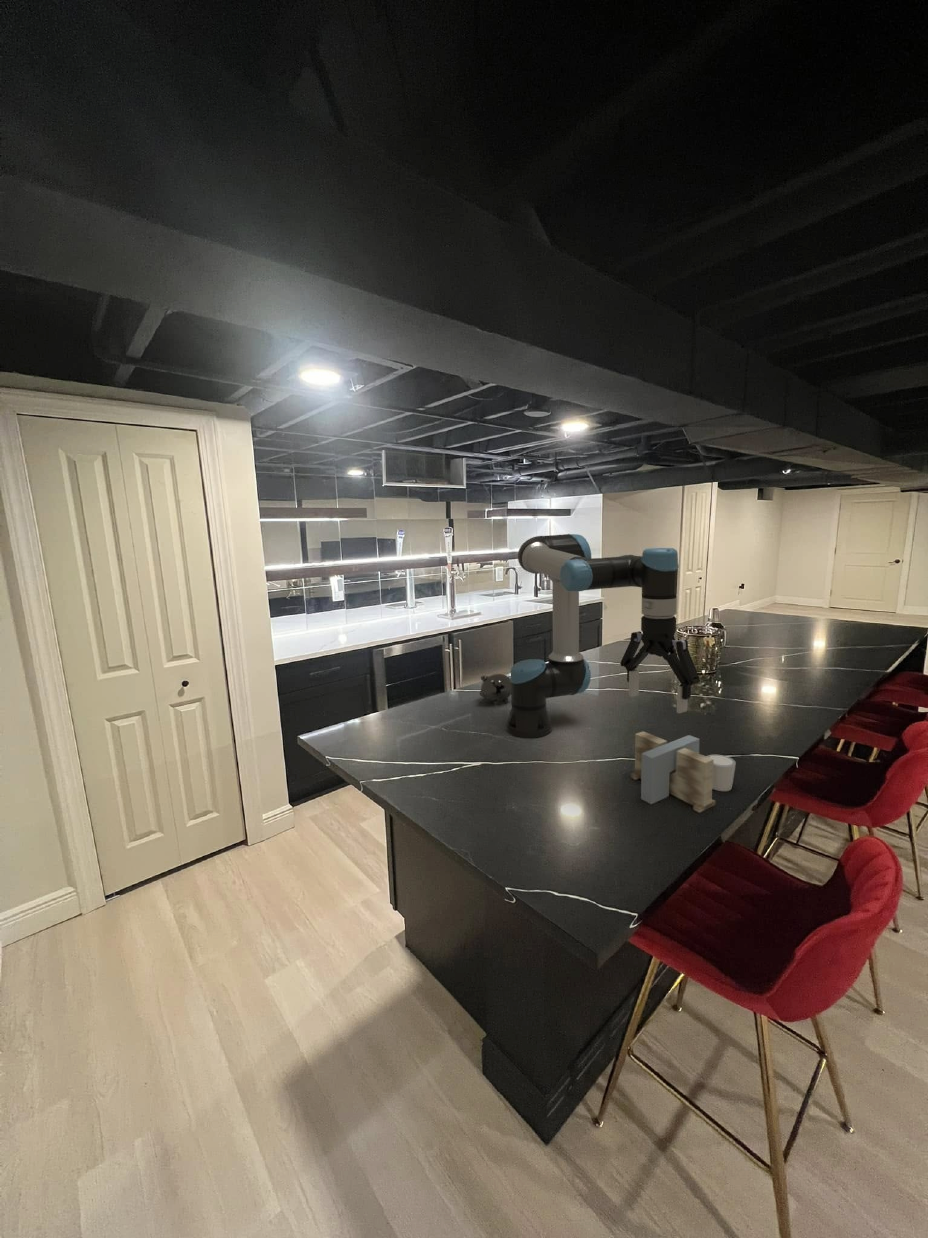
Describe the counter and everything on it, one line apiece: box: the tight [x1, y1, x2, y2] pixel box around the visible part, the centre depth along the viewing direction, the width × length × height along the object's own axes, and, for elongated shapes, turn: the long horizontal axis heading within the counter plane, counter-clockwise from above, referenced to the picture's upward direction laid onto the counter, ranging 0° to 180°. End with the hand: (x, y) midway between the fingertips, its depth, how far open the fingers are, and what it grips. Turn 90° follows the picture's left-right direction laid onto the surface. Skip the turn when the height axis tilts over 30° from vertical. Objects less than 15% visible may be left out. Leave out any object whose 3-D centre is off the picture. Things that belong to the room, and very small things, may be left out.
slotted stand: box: [630, 730, 716, 814], centre depth 120 cm, size 20×6×12 cm, turn 30°
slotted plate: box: [640, 734, 701, 805], centre depth 120 cm, size 18×3×12 cm, turn 120°
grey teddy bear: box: [479, 673, 511, 706], centre depth 189 cm, size 11×15×12 cm
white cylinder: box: [706, 753, 737, 792], centre depth 122 cm, size 7×7×7 cm
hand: (656, 703), depth 114 cm, fingers open, 13 cm apart
